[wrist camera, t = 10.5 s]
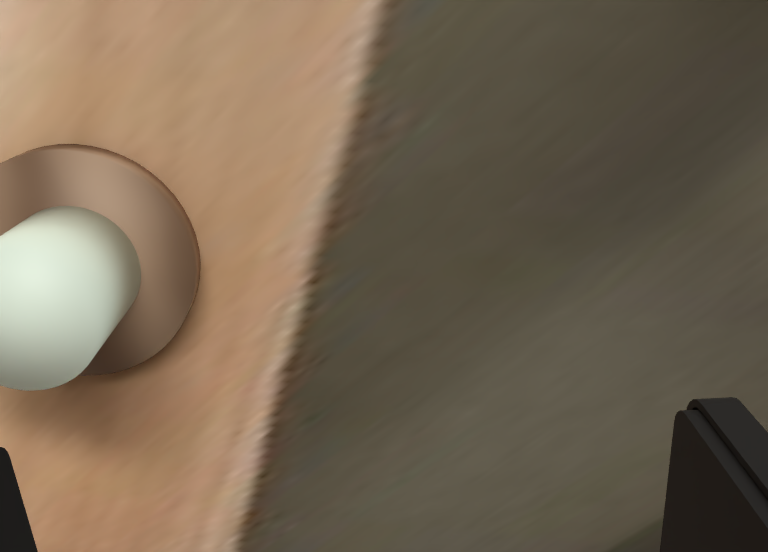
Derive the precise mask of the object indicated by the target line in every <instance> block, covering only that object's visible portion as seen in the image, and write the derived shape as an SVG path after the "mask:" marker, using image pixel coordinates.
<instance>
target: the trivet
mask: <svg viewBox="0 0 768 552" xmlns="http://www.w3.org/2000/svg"><path fill="white" fill-rule="evenodd" d="M57 206H75V207H81V208H85V209H89V210H92V211H94V212H97V213H99V214H101V215H103V216H105V217H106V218H108V219H109V220H111V221H112V222H114V223H115V224H116V225H117V226H118V227H119V228H120V229H121V230H122V231H123V232H124V233H125V234H126V235H127V237H128V238H129V239H130V241H131V242H132V244H133V246H134V248H135V250H136V252H137V255H138V258H139V261H140V266H141V283H140V288H139V291H138V295H137V297H136V299H135V301H134V302H133V304H132V305H131V307H130V308H129V309H128V311H127V312H126V314H125V315H124V316H123V318H122V319H121V320H120V322H119V323H118V325H117V326H116V327H115V329H114V330H113V332H112V333H111V334H110V336H109V337H108V338H107V340H106V341H105V343H104V344H103V345H102V347H101V348H100V349H99V351H98V352H97V354H96V355H95V356H94V358H93V359H92V360H91V362H90V363H89V365H88V366H87V367H86V368H85V369H84V370H83V371H82V372H81V373H80V374H79V375H82V376H86V375H103V374H110V373H115V372H118V371H122V370H126V369H128V368H131V367H133V366H136V365H138V364H140V363H142V362H144V361H146V360H147V359H149V358H151V357H152V356H154V355H155V354H156V353H157V352H159V351H160V350H161V349H163V348H164V347H165V346H166V345H167V344H168V342H169V341H170V340H171V339H172V338H173V337H174V336H175V334H176V333H177V331H178V330H179V329H180V327H181V325H182V323H183V321H184V320H185V318H186V316H187V314H188V312H189V310H190V308H191V306H192V304H193V302H194V299H195V296H196V293H197V290H198V284H199V279H200V254H199V247H198V243H197V238H196V235H195V232H194V229H193V227H192V224H191V222H190V220H189V218H188V216H187V214H186V212H185V210H184V208H183V207H182V205H181V204H180V203H179V201H178V200H177V198H176V197H175V196H174V194H173V193H172V192H171V191H170V190H169V189H168V188H167V187H166V186H165V185H164V183H163V182H161V181H160V180H159V179H158V178H157V177H156V176H154V175H153V174H152V173H151V172H149V171H148V170H146V169H145V168H144V167H142V166H141V165H139V164H138V163H136V162H134V161H132V160H130V159H128V158H126V157H124V156H122V155H119V154H117V153H114V152H111V151H109V150H105V149H101V148H97V147H93V146H87V145H78V144H58V145H51V146H44V147H40V148H36V149H33V150H30V151H27V152H25V153H22V154H20V155H18V156H16V157H13V158H11V159H9V160H7V161H5V162H2V163H0V236H1V235H3V234H4V233H6V232H7V231H9V230H10V229H12V228H13V227H15V226H16V225H18V224H19V223H21V222H22V221H24V220H25V219H27V218H29V217H30V216H32V215H33V214H35V213H37V212H39V211H41V210H44V209H47V208H51V207H57Z"/></svg>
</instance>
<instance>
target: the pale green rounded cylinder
mask: <svg viewBox="0 0 768 552" xmlns="http://www.w3.org/2000/svg"><path fill="white" fill-rule="evenodd" d="M140 283H141V266H140V261H139V258H138V255H137V252H136V250H135V248H134V246H133V244H132V242H131V241H130V239H129V238H128V237H127V235H126V234H125V233H124V232H123V231H122V230H121V229H120V228H119V227H118V226H117V225H116V224H115V223H114V222H112V221H111V220H109V219H108V218H106V217H105V216H103V215H101V214H99V213H97V212H94V211H92V210H89V209H85V208H81V207H75V206H57V207H51V208H47V209H44V210H41V211H39V212H37V213H35V214H33V215H32V216H30V217H29V218H27V219H25V220H24V221H22V222H21V223H19V224H18V225H16V226H15V227H13V228H12V229H10V230H9V231H7V232H6V233H4V234H3V235H1V236H0V385H1V386H4V387H7V388H12V389H17V390H27V391H33V390H44V389H50V388H54V387H57V386H60V385H62V384H65V383H67V382H68V381H70V380H72V379H74V378H75V377H76V376H78V375H79V374H80V373H81V372H82V371H83V370H84V369H85V368H86V367H87V366H88V365H89V363H90V362H91V360H92V359H93V358H94V356H95V355H96V354H97V352H98V351H99V349H100V348H101V347H102V345H103V344H104V343H105V341H106V340H107V338H108V337H109V336H110V334H111V333H112V332H113V330H114V329H115V327H116V326H117V325H118V323H119V322H120V320H121V319H122V318H123V316H124V315H125V314H126V312H127V311H128V309H129V308H130V307H131V305H132V304H133V302H134V301H135V299H136V297H137V295H138V291H139V288H140Z"/></svg>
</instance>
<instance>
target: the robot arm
mask: <svg viewBox="0 0 768 552" xmlns="http://www.w3.org/2000/svg"><path fill="white" fill-rule="evenodd" d="M0 552H38V551H37V548H36V544H35V541H34V538H33V534H32V531H31V527H30V524H29V521H28V517H27V514H26V510H25V507H24V504H23V500H22V497H21V494H20V490H19V487H18V483H17V480H16V477H15V473H14V470H13V466H12V463H11V460H10V456H9V454H8V452H7V451H6V449H5V448H2V447H0ZM660 552H768V433H767V431H766V430H765V429H764V428H763V427H762V426H761V424H760V423H759V422H758V421H757V420H756V419H755V418H754V416H753V415H752V414H751V413H750V412H749V411H748V410H747V408H746V407H745V406H744V405H743V404H742V403H741V402H740V401H739V400H738V399H737V398H732V397H729V398H711V399H693V400H692V401H690V403H689V405H688V406H687V410H683V411H679V412H677V414H676V416H675V421H674V429H673V438H672V447H671V456H670V465H669V474H668V483H667V492H666V501H665V510H664V519H663V528H662V537H661V546H660Z"/></svg>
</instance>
